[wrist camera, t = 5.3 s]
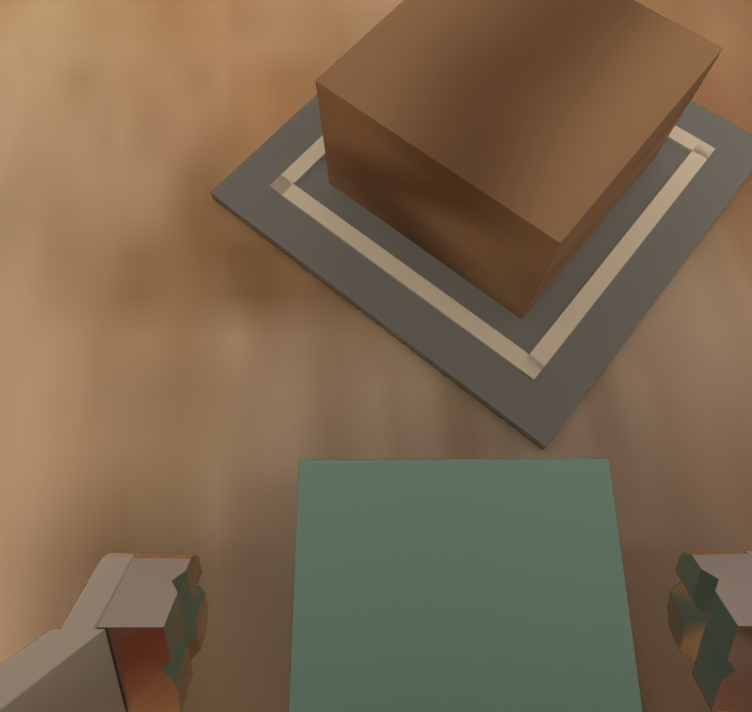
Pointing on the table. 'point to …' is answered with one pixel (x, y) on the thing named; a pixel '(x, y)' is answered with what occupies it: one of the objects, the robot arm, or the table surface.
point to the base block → (505, 126)
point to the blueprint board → (468, 303)
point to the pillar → (460, 588)
